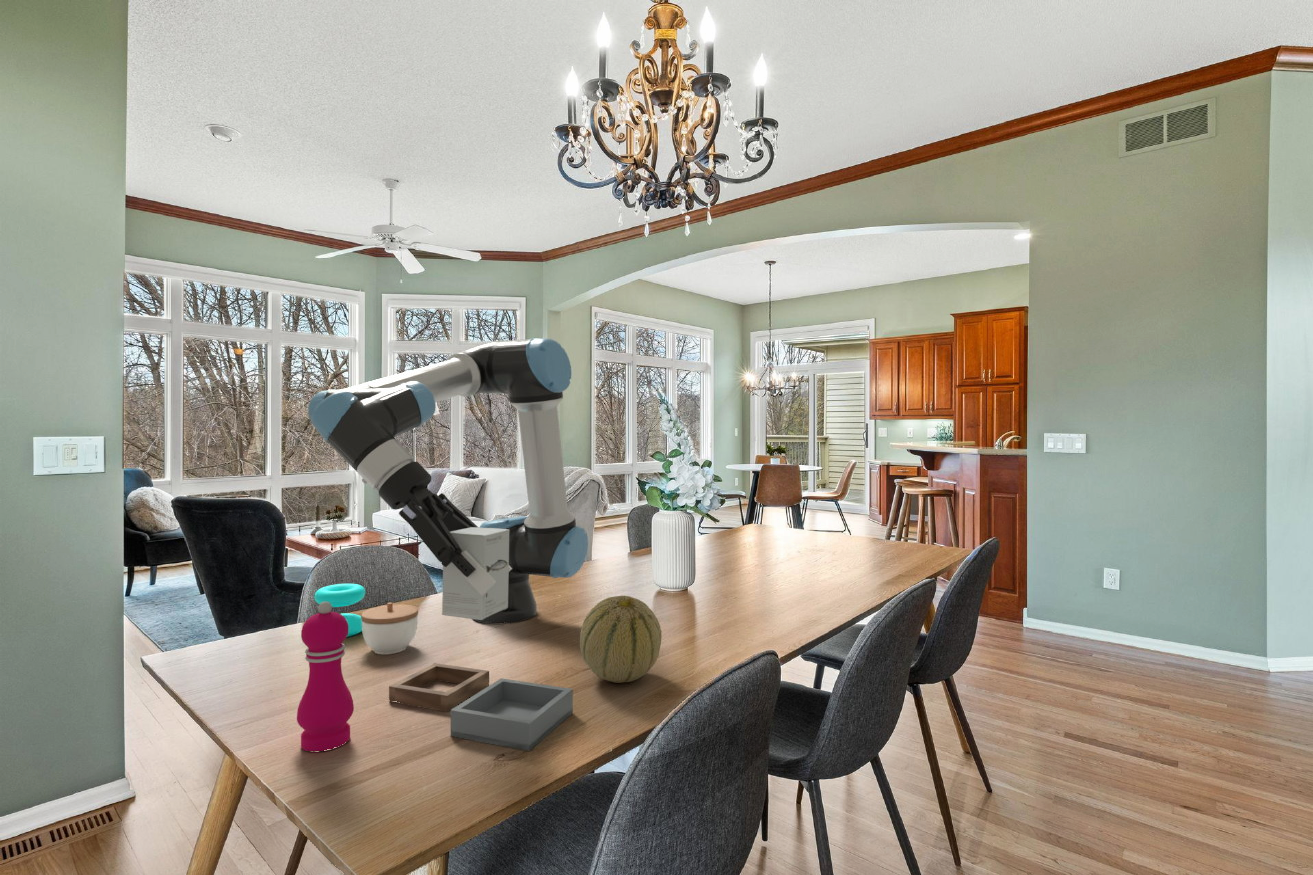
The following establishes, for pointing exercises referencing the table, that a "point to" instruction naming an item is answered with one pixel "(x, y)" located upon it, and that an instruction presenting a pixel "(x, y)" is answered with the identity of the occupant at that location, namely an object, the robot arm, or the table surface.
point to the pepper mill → (325, 683)
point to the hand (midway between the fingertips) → (497, 581)
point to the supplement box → (494, 558)
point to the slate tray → (512, 713)
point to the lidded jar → (389, 627)
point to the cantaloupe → (620, 639)
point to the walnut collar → (416, 695)
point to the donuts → (343, 602)
